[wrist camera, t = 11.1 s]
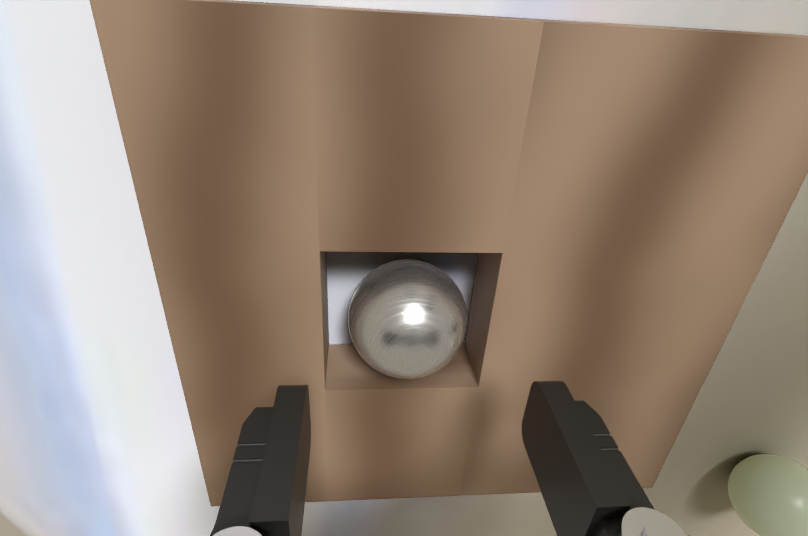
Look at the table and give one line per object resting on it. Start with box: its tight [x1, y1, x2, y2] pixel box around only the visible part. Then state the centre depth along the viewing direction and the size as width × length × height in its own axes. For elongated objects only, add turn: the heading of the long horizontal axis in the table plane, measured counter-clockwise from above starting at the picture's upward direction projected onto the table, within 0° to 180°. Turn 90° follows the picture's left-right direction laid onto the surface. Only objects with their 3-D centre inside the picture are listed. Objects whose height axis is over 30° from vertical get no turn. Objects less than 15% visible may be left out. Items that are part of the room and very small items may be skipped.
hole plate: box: [90, 0, 808, 506], centre depth 17 cm, size 19×18×2 cm
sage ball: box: [728, 454, 808, 536], centre depth 23 cm, size 4×4×4 cm
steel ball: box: [348, 259, 467, 379], centre depth 16 cm, size 4×4×4 cm
